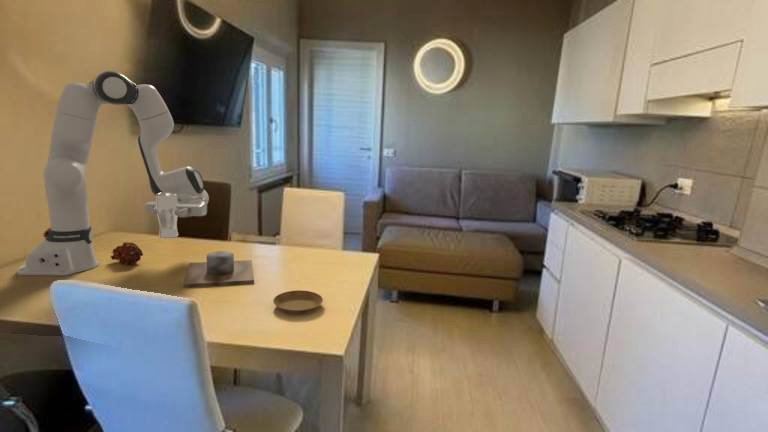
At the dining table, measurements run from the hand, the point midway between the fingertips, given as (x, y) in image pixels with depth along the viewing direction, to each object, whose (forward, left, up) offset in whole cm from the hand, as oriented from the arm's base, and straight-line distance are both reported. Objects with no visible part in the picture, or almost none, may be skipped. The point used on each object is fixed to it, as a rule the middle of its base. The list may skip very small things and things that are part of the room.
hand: (166, 212), depth 149 cm
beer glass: (0, +1, -9) cm, 9 cm away
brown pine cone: (-16, +13, -22) cm, 30 cm away
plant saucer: (+40, -38, -22) cm, 60 cm away
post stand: (+17, -5, -22) cm, 28 cm away
